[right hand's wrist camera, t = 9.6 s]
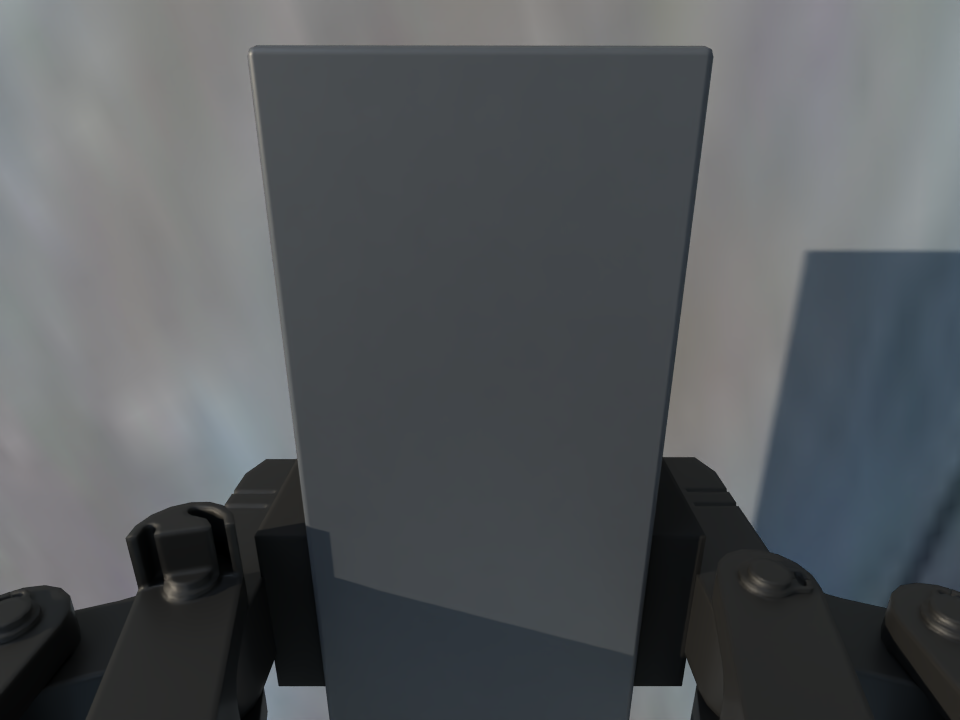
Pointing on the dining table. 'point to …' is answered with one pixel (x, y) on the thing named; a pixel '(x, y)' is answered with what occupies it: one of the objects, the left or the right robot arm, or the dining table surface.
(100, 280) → the dining table surface
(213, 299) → the dining table surface
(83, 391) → the dining table surface
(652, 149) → the plank
